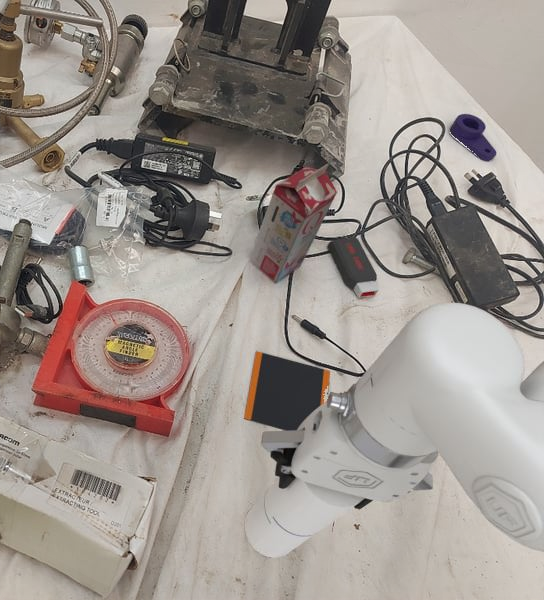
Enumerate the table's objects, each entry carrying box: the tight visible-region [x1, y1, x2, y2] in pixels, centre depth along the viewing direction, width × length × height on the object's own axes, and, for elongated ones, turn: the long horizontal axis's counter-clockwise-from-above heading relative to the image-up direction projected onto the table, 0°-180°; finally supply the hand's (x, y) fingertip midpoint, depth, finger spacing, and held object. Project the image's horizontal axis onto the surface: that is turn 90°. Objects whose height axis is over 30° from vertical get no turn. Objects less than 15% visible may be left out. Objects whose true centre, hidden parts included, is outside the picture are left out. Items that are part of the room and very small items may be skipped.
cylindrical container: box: [243, 476, 364, 559], centre depth 67 cm, size 7×7×25 cm
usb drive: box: [326, 236, 380, 299], centre depth 103 cm, size 5×12×3 cm, turn 11°
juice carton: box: [248, 163, 338, 285], centre depth 94 cm, size 7×7×22 cm
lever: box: [449, 113, 497, 162], centre depth 126 cm, size 12×6×3 cm, turn 22°
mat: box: [243, 350, 331, 431], centre depth 89 cm, size 12×12×1 cm
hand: (319, 484), depth 61 cm, fingers closed on cylindrical container, 7 cm apart
